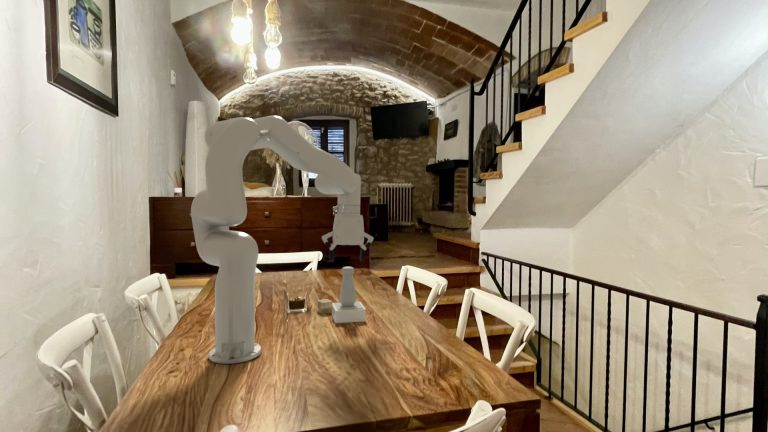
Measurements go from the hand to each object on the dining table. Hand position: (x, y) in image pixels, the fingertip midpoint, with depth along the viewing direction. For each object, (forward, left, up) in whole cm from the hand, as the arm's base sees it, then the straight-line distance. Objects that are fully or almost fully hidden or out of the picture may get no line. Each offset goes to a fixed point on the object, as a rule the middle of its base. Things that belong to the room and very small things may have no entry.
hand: (347, 261), depth 136 cm
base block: (0, -1, -19) cm, 19 cm away
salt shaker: (0, 0, -15) cm, 15 cm away
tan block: (+9, +6, -19) cm, 22 cm away
